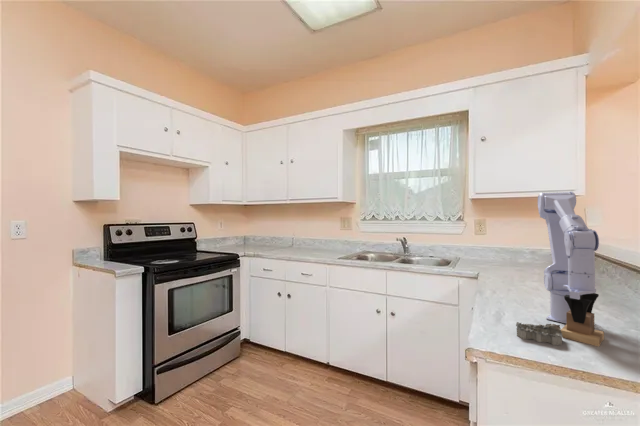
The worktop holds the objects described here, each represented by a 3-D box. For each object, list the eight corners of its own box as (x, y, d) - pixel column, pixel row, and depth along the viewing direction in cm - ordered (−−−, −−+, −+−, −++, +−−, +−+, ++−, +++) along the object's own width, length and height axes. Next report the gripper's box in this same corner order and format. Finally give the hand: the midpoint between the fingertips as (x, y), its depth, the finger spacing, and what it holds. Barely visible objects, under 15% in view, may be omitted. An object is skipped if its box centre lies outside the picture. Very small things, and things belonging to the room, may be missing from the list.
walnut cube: (571, 325, 86) (571, 308, 86) (594, 331, 82) (594, 313, 82) (566, 329, 83) (566, 312, 83) (590, 335, 79) (589, 317, 79)
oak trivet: (567, 331, 88) (567, 323, 88) (604, 340, 81) (603, 331, 81) (560, 338, 83) (560, 329, 83) (598, 348, 77) (598, 339, 77)
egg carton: (562, 339, 82) (562, 324, 82) (563, 348, 76) (562, 333, 76) (516, 329, 89) (516, 316, 89) (514, 337, 83) (514, 323, 83)
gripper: (570, 267, 90) (571, 311, 90) (555, 273, 81) (556, 321, 81) (601, 270, 84) (602, 317, 84) (589, 277, 76) (590, 329, 75)
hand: (581, 319), depth 82 cm, fingers open, 6 cm apart
